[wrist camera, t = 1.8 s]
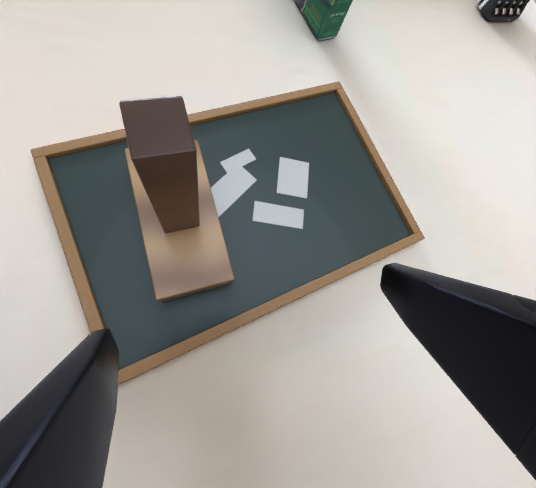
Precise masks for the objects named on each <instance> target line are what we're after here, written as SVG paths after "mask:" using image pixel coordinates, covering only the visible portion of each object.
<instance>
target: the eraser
mask: <svg viewBox="0 0 536 488" xmlns="http://www.w3.org/2000/svg"><path fill="white" fill-rule="evenodd" d="M119 104H120V109H121V114H122V119H123V123H124V128H125V133H126V137H127V142H128V147H129V149H125V154H126V159H127V164H128V169H129V173H130V178H131V183H132V188H133V192H134V197H135V202H136V207H137V212H138V216H139V221H140V226H141V231H142V236H143V240H144V245H145V250H146V255H147V259H148V264H149V269H150V274H151V279H152V283H153V288H154V293H155V298H156V300H157V301H160V302H166V301H170V300H174V299H177V298H181V297H185V296H189V295H192V294H196V293H200V292H204V291H207V290H211V289H215V288H218V287H222V286H226V285H230V284H231V283H232V282H233V281H234V279H235V278H234V274H233V270H232V267H231V263H230V259H229V255H228V252H227V248H226V244H225V240H224V237H223V233H222V229H221V225H220V222H219V218H218V214H217V210H216V207H215V203H214V199H213V195H212V192H211V188H210V184H209V180H208V177H207V173H206V169H205V165H204V161H203V158H202V154H201V150H200V146H199V143H198V140H194V139H193V135H192V131H191V127H190V123H189V120H188V116H187V112H186V108H185V104H184V101H183V98H182V96H175V97H162V98H150V99H138V100H125V101H120V103H119Z"/></svg>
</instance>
